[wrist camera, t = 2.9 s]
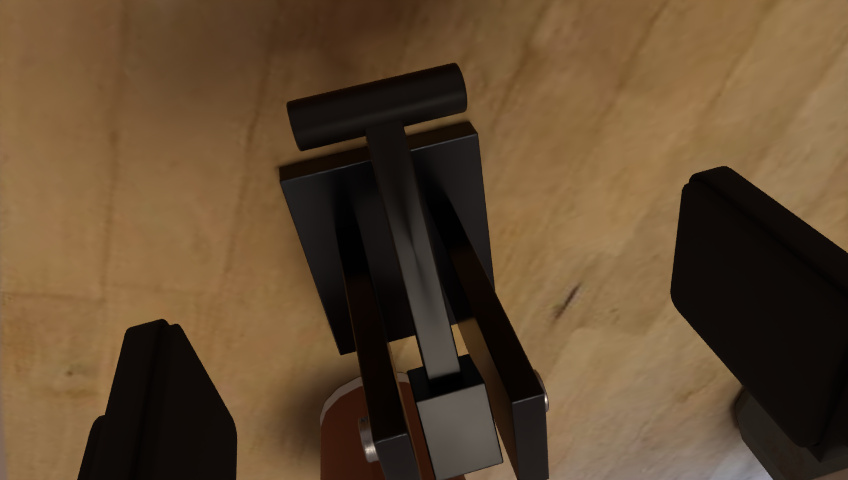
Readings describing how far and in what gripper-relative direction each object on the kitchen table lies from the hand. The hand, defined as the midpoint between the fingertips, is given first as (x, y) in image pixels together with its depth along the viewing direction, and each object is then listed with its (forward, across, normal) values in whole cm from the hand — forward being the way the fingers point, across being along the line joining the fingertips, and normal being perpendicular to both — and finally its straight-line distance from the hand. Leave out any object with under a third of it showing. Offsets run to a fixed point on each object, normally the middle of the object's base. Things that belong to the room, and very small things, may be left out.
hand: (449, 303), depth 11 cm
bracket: (+14, 0, +8) cm, 16 cm away
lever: (+7, 0, +5) cm, 9 cm away
